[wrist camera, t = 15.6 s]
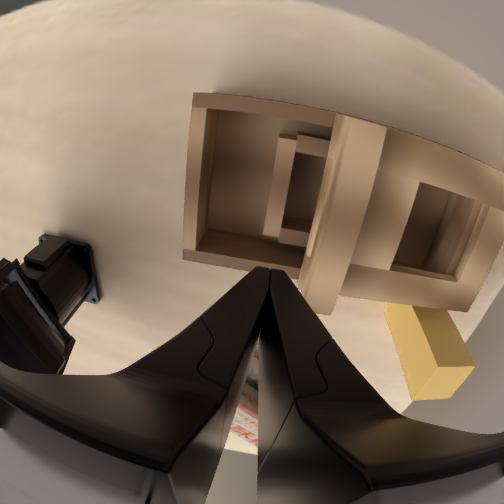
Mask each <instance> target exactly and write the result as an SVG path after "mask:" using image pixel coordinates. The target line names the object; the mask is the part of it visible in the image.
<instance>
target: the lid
mask: <svg viewBox="0 0 504 504" xmlns="http://www.w3.org/2000/svg"><path fill="white" fill-rule="evenodd" d="M420 182H423V183H426V184H430V185H433V186H436V187H439V188H442V189H445V190H448V191H451V192H454V193H457V194H460V195H462V196H465V197H468V198H471V199H473V200H476V201H479V202H481V203H483V204H482V207H481V210H480V213H479V215H478V218H477V221H476V223H475V226H474V229H473V231H472V234H471V236H470V239H469V241H468V244H467V246H466V248H465V251H464V253H463V255H462V258H461V260H460V262H459V264H458V266H457V269H456V271H455V273H454V275H453V276H451V275H446V274H440V273H435V272H430V271H424V270H419V269H414V268H408V267H403V266H398V265H392V262H393V259H394V257H395V254H396V251H397V249H398V246H399V243H400V241H401V238H402V235H403V232H404V230H405V227H406V224H407V221H408V218H409V215H410V212H411V209H412V206H413V203H414V199H415V196H416V193H417V190H418V186H419V183H420ZM503 240H504V173H503V172H501V171H499V170H497V169H495V168H493V167H491V166H489V165H487V164H485V163H482V162H480V161H478V160H476V159H474V158H471V157H469V156H467V155H464V154H462V153H460V152H457V151H455V150H452V149H450V148H447V147H445V146H442V145H440V144H437V143H434V142H432V141H429V140H426V139H423V138H420V137H418V136H415V135H412V134H409V133H406V132H403V131H400V130H396V129H393V128H390V127H387V126H383V125H380V124H376V123H373V122H369V121H366V120H362V119H358V118H354V117H350V116H346V115H342V114H338V113H336V115H335V120H334V126H333V131H332V136H331V141H330V146H329V151H328V156H327V160H326V165H325V170H324V175H323V179H322V184H321V188H320V193H319V197H318V202H317V206H316V210H315V214H314V219H313V223H312V227H311V231H310V235H309V239H308V244H307V248H306V252H305V255H304V259H303V263H302V267H301V271H300V275H299V279H298V289H301V291H302V296H303V297H304V298H305V300H306V301H307V303H308V304H309V305H310V307H311V308H312V310H313V311H314V312H315V313H317V314H324V315H331V314H332V311H333V309H334V306H335V303H336V301H337V298H338V295H341V296H347V297H354V298H361V299H368V300H375V301H382V302H390V303H397V304H405V305H412V306H420V307H428V308H436V309H444V310H453V311H461V312H468V310H469V309H470V307H471V305H472V303H473V302H474V300H475V298H476V296H477V294H478V292H479V291H480V289H481V287H482V285H483V283H484V281H485V279H486V277H487V275H488V273H489V271H490V269H491V267H492V265H493V262H494V260H495V258H496V256H497V254H498V251H499V249H500V247H501V245H502V242H503Z"/></svg>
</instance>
